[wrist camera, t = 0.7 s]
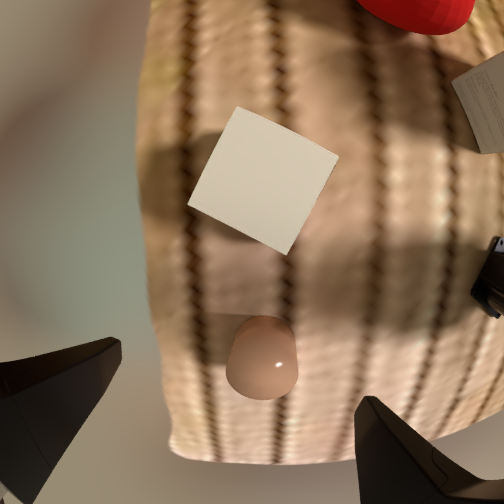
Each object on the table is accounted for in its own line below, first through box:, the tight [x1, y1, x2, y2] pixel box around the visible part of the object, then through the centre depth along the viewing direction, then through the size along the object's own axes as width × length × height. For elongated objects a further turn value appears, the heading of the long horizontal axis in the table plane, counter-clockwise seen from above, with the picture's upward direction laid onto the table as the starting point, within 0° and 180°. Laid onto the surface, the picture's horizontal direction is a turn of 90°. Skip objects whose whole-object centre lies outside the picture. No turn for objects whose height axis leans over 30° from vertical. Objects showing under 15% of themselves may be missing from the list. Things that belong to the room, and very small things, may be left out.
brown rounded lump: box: [226, 316, 298, 400], centre depth 20 cm, size 5×5×4 cm
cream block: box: [188, 106, 339, 255], centre depth 14 cm, size 5×5×4 cm
